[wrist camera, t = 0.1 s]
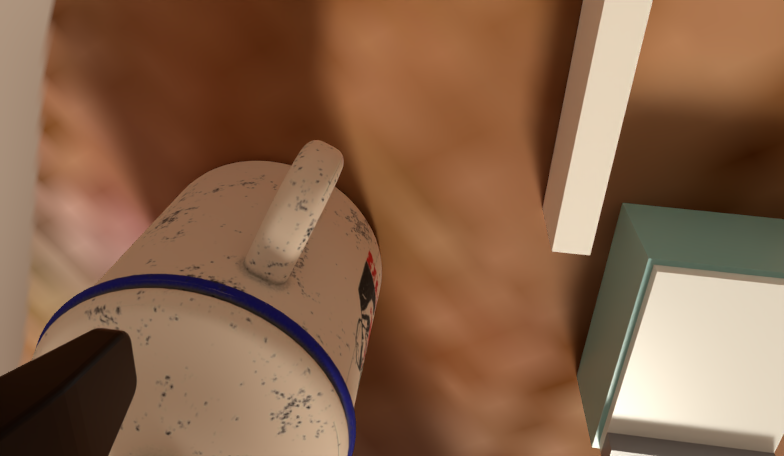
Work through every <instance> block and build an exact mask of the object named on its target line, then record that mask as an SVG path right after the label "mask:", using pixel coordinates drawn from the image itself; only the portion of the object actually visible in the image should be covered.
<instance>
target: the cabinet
mask: <svg viewBox="0 0 784 456" xmlns="http://www.w3.org/2000/svg"><path fill="white" fill-rule="evenodd" d="M577 380H578V385H579V389H580V394H581V399H582V403H583V408H584V413H585V417H586V422H587V427H588V431H589V436H590V441H591V445H592V447H594V448H600V452H601V456H775V454H774V452H775V450H776V448H777V446H778V444H779V442H780V440H781V438H782V436H783V434H784V219H777V218H767V217H758V216H748V215H738V214H728V213H718V212H708V211H699V210H689V209H679V208H669V207H659V206H649V205H640V204H630V203H622V206H621V210H620V214H619V218H618V221H617V225H616V229H615V233H614V236H613V240H612V244H611V248H610V252H609V255H608V259H607V263H606V267H605V271H604V274H603V278H602V282H601V286H600V290H599V293H598V297H597V301H596V305H595V309H594V312H593V316H592V320H591V324H590V328H589V331H588V335H587V339H586V343H585V347H584V350H583V354H582V358H581V362H580V366H579V369H578V373H577Z"/></svg>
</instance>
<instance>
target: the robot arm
mask: <svg viewBox="0 0 784 456" xmlns="http://www.w3.org/2000/svg"><path fill="white" fill-rule="evenodd" d="M136 386H137V374H136V368H135V362H134V355H133V349H132V342H131V338H130V336H129V334H128V333H127V332H125V331H122V330H115V329H107V328H95V329H93V330H90V331H88V332H87V333H85V334H83V335H81V336H79V337H77V338H75V339H73V340H71V341H69V342H67V343H65V344H63V345H61V346H59V347H57V348H55V349H53V350H51V351H49V352H47V353H45V354H43V355H42V356H40V357H38V358H36V359H34V360H32V361H30V362H28V363H26V364H24V365H22V366H20V367H18V368H16V369H14V370H12V371H10V372H8V373H6V374H4V375H2V376H0V456H109V453H110V451H111V449H112V446H113V444H114V442H115V439H116V437H117V435H118V432H119V430H120V428H121V425H122V423H123V421H124V418H125V416H126V414H127V411H128V409H129V407H130V404H131V402H132V400H133V397H134V395H135V391H136Z"/></svg>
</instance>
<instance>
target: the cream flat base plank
mask: <svg viewBox="0 0 784 456" xmlns="http://www.w3.org/2000/svg"><path fill="white" fill-rule="evenodd" d="M652 1H653V0H583V4H582V9H581V14H580V19H579V24H578V29H577V34H576V39H575V45H574V50H573V55H572V60H571V65H570V70H569V75H568V80H567V86H566V91H565V96H564V101H563V106H562V111H561V116H560V121H559V127H558V132H557V137H556V142H555V147H554V152H553V157H552V162H551V168H550V173H549V178H548V183H547V188H546V193H545V198H544V203H543V209H542V210H543V214H544V219H545V223H546V228H547V232H548V236H549V241H550V245H551V250H552V251H553V252H563V253H572V254H582V255H590V254H591V250H592V246H593V242H594V238H595V234H596V229H597V225H598V221H599V217H600V213H601V209H602V205H603V201H604V197H605V193H606V189H607V185H608V180H609V176H610V172H611V168H612V164H613V160H614V156H615V152H616V148H617V144H618V140H619V135H620V131H621V127H622V123H623V119H624V115H625V111H626V107H627V103H628V99H629V95H630V91H631V86H632V82H633V78H634V74H635V70H636V66H637V62H638V58H639V54H640V50H641V46H642V42H643V37H644V33H645V29H646V25H647V21H648V17H649V13H650V9H651V5H652Z"/></svg>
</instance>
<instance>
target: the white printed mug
mask: <svg viewBox="0 0 784 456" xmlns="http://www.w3.org/2000/svg"><path fill="white" fill-rule="evenodd" d="M343 165H344V159H343V155H342V153H341V152H340V151H339V150H338V149H336V148H335V147H333V146H331V145H329V144H327V143H325V142H323V141H320V140H313V141H310V142H309V143H307V144H306V145H305V146H304V147H303V148H302V149H301V151H300V152H299V154H298V155H297V157H296V159H295V160H294V162H293V164H292V166H291V165H287V164H284V163H278V162H271V161H244V162H236V163H232V164H227V165H224V166H221V167H218V168H215V169H213V170H211V171H209V172H207V173H205V174H204V175H202V176H200V177H199V178H197V179H196V180H194V181H193V182H192V183H191V184H189V185H188V186H187V187H186V188H185V189H184V190H183V191H182V192H181V193H180V194H179V195H178V196H177V197H176V199H175V200H174V201H173V202H172V203H171V204H170V205H169V206H168V207H167V208H166V209H165V210H164V211H163V212H162V214H161V215H160V216H159V217H158V218H157V219H156V220H155V221H154V222H153V223H152V224H151V225H150V226H149V227H148V229H147V230H146V231H145V232H144V233H143V234H142V235H141V236H140V237H139V238H138V239H137V240H136V241H135V242H134V244H133V245H132V246H131V247H130V248H129V249H128V250H127V251H126V252H125V253H124V254H123V255H122V256H121V257H120V259H119V260H118V261H117V262H116V263H115V264H114V265H113V266H112V267H111V268H110V269H109V270H108V271H107V272H106V273H105V275H104V276H103V277H102V278H101V279H100V280H99V281H98V282H97V283H96V284H95V285H94V286H93V287H90V288H88V289H86V290H84V291H83V292H81V293H79V294H77V295H76V296H74V297H73V298H72V299H70V300H69V301H68V302H66V303H65V304H64V305H63V306H62V307H61V308H60V309H59V310H58V311H57V312H56V313H55V314H54V315H53V316H52V318H51V319H50V320H49V322H48V323H47V324H46V326H45V328H44V330H43V332H42V333H41V335H40V338H39V341H38V343H37V346H36V350H35V352H34V355H33V358H32V360H34V359H36V358H38V357H40V356H42V355H43V354H45V353H47V352H49V351H51V350H53V349H55V348H57V347H59V346H61V345H63V344H65V343H67V342H69V341H71V340H73V339H75V338H77V337H79V336H81V335H83V334H85V333H87V332H88V331H90V330H93V329H95V328H107V329H115V330H122V331H125V332H127V333H128V334H129V336H130V338H131V342H132V349H133V355H134V362H135V368H136V374H137V386H136V391H135V395H134V397H133V400H132V402H131V404H130V407H129V409H128V411H127V414H126V416H125V418H124V421H123V423H122V425H121V428H120V430H119V432H118V435H117V437H116V439H115V442H114V444H113V446H112V449H111V451H110V453H109V456H352V453H353V450H354V445H355V438H356V419H355V411H354V405H355V401H356V396H357V392H358V387H359V383H360V378H361V373H362V369H363V364H364V360H365V355H366V351H367V346H368V342H369V337H370V333H371V328H372V323H373V319H374V314H375V310H376V305H377V301H378V296H379V292H380V287H381V280H382V265H381V256H380V251H379V247H378V244H377V241H376V238H375V236H374V234H373V231H372V229H371V227H370V226H369V224H368V222H367V220H366V219H365V217H364V216H363V215H362V213H361V212H360V210H359V209H358V208H357V207H356V206H355V204H354V203H353V202H352V201H351V200H350V199H349V198H348V197H347V196H346V195H345V194H344V193H342V192H341V191H340V190H339V189H337V188H336V187H335V184H336V182H337V180H338V178H339V175H340V173H341V171H342V168H343Z"/></svg>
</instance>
